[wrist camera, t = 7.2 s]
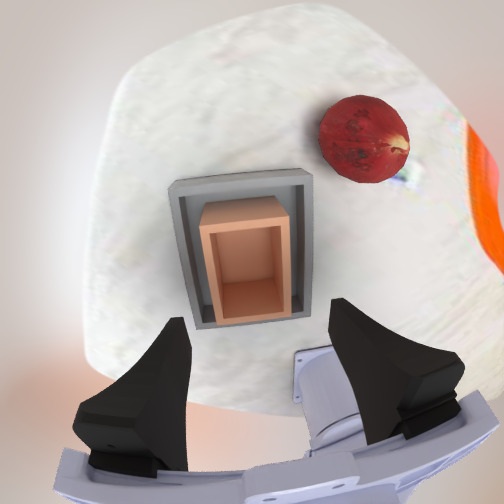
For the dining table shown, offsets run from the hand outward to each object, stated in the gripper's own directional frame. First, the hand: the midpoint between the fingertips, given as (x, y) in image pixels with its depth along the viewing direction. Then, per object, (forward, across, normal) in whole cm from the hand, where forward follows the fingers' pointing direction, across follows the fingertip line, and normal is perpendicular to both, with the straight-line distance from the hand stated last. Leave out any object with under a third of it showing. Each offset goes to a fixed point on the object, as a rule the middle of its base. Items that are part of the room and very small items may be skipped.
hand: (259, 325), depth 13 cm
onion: (+10, -8, -8) cm, 15 cm away
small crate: (+9, 0, 0) cm, 9 cm away
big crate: (+10, 0, 0) cm, 10 cm away
